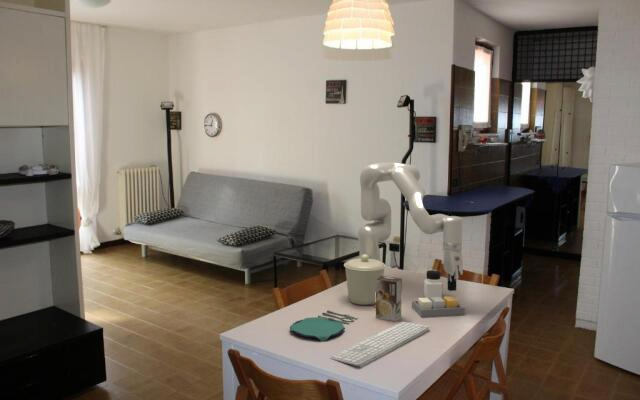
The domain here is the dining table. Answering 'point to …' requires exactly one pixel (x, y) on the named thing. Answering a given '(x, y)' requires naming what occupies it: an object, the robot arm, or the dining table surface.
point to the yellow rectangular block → (450, 302)
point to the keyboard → (380, 344)
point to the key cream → (425, 303)
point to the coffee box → (388, 298)
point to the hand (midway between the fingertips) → (451, 290)
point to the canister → (363, 279)
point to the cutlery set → (320, 326)
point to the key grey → (438, 302)
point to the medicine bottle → (433, 284)
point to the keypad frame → (437, 311)
